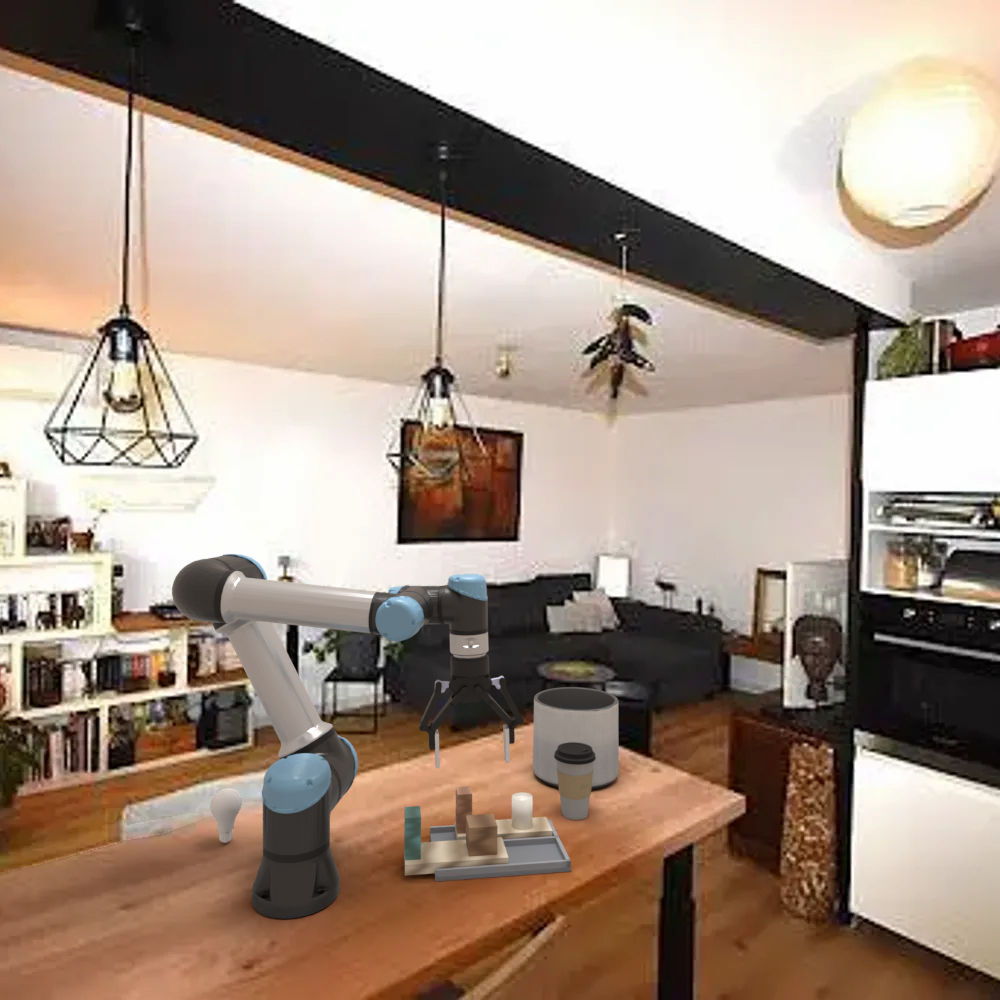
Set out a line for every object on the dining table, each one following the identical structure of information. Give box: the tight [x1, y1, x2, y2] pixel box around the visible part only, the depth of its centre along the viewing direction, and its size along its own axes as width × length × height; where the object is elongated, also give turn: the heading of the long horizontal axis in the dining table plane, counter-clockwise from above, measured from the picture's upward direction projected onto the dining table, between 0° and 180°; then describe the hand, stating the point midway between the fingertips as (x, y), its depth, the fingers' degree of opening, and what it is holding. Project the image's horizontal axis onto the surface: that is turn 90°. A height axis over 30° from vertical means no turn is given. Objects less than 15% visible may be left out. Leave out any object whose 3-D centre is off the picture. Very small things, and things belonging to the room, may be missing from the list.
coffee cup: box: [554, 742, 596, 821], centre depth 161 cm, size 9×9×15 cm
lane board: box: [429, 818, 572, 882], centre depth 144 cm, size 26×18×2 cm
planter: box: [532, 686, 620, 790], centre depth 184 cm, size 22×22×20 cm
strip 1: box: [403, 805, 508, 876], centre depth 138 cm, size 20×8×10 cm, turn 99°
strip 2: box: [454, 785, 552, 840], centre depth 149 cm, size 20×6×10 cm, turn 99°
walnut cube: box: [466, 813, 498, 857], centre depth 139 cm, size 6×6×6 cm
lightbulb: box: [209, 787, 243, 844], centre depth 147 cm, size 6×6×11 cm
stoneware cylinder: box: [511, 791, 534, 830], centre depth 149 cm, size 4×4×6 cm
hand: (472, 763), depth 139 cm, fingers open, 13 cm apart
